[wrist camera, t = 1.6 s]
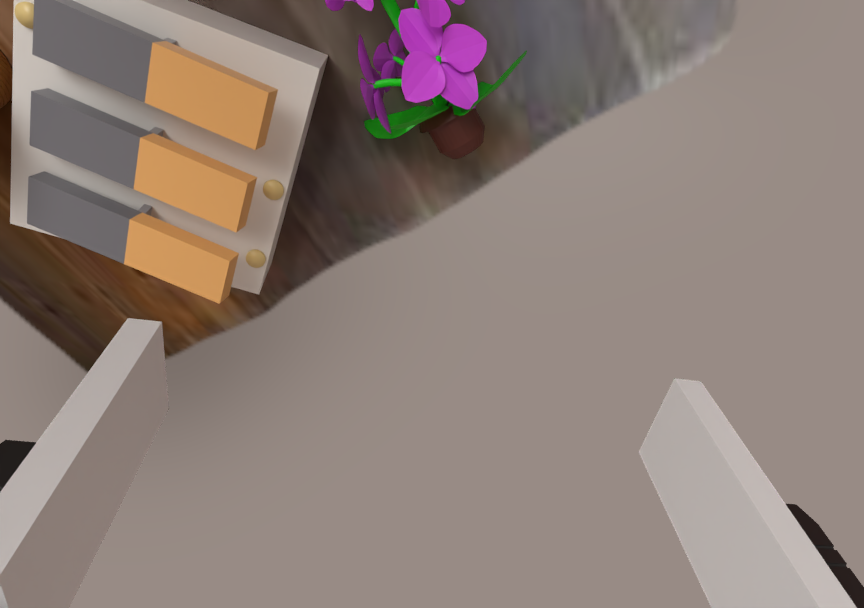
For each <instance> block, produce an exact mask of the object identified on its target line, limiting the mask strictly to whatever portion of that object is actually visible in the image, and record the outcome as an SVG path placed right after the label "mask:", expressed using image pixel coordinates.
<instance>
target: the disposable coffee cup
mask: <svg viewBox="0 0 864 608" xmlns="http://www.w3.org/2000/svg"><path fill="white" fill-rule="evenodd" d="M12 79H13V72H12V69H11V66H10V64H9V63H8V61H7V59H6V57H5V56H4V55H3V53H2V52H1V51H0V108H2V107H3V106H5V105H6V104H7V103H8V102H9V101H10V99H11V97H12Z"/></svg>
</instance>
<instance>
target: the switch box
mask: <svg viewBox="0 0 864 608" xmlns="http://www.w3.org/2000/svg"><path fill="white" fill-rule="evenodd" d="M73 1H75V2H78V3H80V4H82V5H84V6H87V7H89V8H91V9H94V10H96V11H98V12H101V13H103V14H105V15H108V16H110V17H112V18H114V19H117V20H119V21H121V22H124V23H126V24H128V25H131V26H133V27H135V28H138V29H140V30H142V31H144V32H147V33H149V34H151V35H154V36H156V37H158V38H161V39H163V40H165V41H167V42H170V43H172V44H174V45H177V46H179V47H181V48H184V49H186V50H188V51H191V52H193V53H195V54H197V55H200V56H202V57H204V58H207V59H209V60H211V61H214V62H216V63H218V64H220V65H223V66H225V67H227V68H230V69H232V70H234V71H237V72H239V73H241V74H244V75H246V76H248V77H250V78H253V79H255V80H257V81H260V82H262V83H264V84H267V85H269V86H271V87H274V88H276V89H278V92H277V97H276V101H275V105H274V109H273V113H272V118H271V122H270V126H269V130H268V134H267V139H266V143H265V145H264V146H262V147H260V148H259V149H257V150H254V149H251V148H249V147H247V146H244V145H242V144H240V143H237V142H235V141H233V140H230V139H228V138H226V137H223V136H221V135H219V134H216V133H214V132H212V131H209V130H207V129H205V128H202V127H200V126H198V125H195V124H193V123H191V122H188V121H186V120H184V119H181V118H179V117H177V116H174V115H172V114H170V113H167V112H165V111H163V110H160V109H158V108H156V107H153V106H151V105H149V104H146V103H144V102H142V101H139V100H137V99H135V98H132V97H130V96H128V95H125V94H123V93H121V92H118V91H116V90H114V89H111V88H109V87H107V86H104V85H102V84H100V83H97V82H95V81H93V80H90V79H88V78H86V77H83V76H81V75H79V74H76V73H74V72H72V71H69V70H67V69H65V68H63V67H60V66H58V65H56V64H53V63H51V62H49V61H46V60H44V59H42V58H39V57H37V56H35V55H32V48H33V17H34V0H14V18H13V79H12V140H11V201H10V223H11V224H14V225H18V226H21V227H25V228H28V229H32V230H35V231H39V232H42V233H46V234H49V235H53V234H51V233H49V232H46V231H44V230H41V229H39V228H37V227H34V226H32V225H29V224H27V204H28V177H29V176H32V175H35V174H37V173H40V172H43V171H45V172H47V173H50V174H52V175H55V176H57V177H59V178H62V179H64V180H66V181H69V182H71V183H74V184H76V185H78V186H81V187H83V188H85V189H88V190H90V191H93V192H95V193H97V194H100V195H102V196H104V197H107V198H109V199H112V200H114V201H116V202H119V203H121V204H123V205H126V206H128V207H131V208H133V209H135V210H138V211H140V212H142V213H145V214H147V215H150V216H152V217H154V218H157V219H159V220H161V221H164V222H166V223H169V224H171V225H173V226H176V227H178V228H180V229H183V230H185V231H188V232H190V233H192V234H195V235H197V236H199V237H202V238H204V239H207V240H209V241H211V242H214V243H216V244H218V245H221V246H223V247H226V248H228V249H230V250H233V251H235V252H237V253H239V256H238V260H237V264H236V268H235V273H234V277H233V281H232V285H231V287H234V288H238V289H241V290H245V291H248V292H252V293H255V294H259V293H260V291H261V288H262V286H263V283H264V281H265V278H266V276H267V273H268V271H269V268H270V266H271V263H272V260H273V256H274V253H275V249H276V245H277V242H278V238H279V234H280V231H281V227H282V223H283V220H284V216H285V212H286V209H287V205H288V201H289V198H290V194H291V190H292V187H293V183H294V179H295V176H296V172H297V168H298V165H299V161H300V157H301V154H302V150H303V146H304V143H305V139H306V135H307V132H308V128H309V124H310V121H311V117H312V113H313V110H314V106H315V102H316V99H317V95H318V91H319V88H320V84H321V80H322V77H323V73H324V69H325V66H326V62H327V58H328V55H327V54H324V53H322V52H319V51H316V50H314V49H311V48H309V47H306V46H304V45H301V44H299V43H296V42H293V41H291V40H288V39H286V38H283V37H281V36H278V35H275V34H273V33H270V32H268V31H265V30H263V29H260V28H258V27H255V26H252V25H250V24H247V23H245V22H242V21H240V20H237V19H234V18H232V17H229V16H227V15H224V14H222V13H219V12H216V11H214V10H211V9H209V8H206V7H204V6H201V5H199V4H196V3H193V2H191V1H188V0H73ZM46 88H49V89H51V90H54V91H56V92H58V93H61V94H63V95H65V96H68V97H70V98H72V99H75V100H77V101H80V102H82V103H84V104H87V105H89V106H91V107H94V108H96V109H98V110H101V111H103V112H105V113H108V114H110V115H112V116H115V117H117V118H119V119H122V120H124V121H126V122H129V123H131V124H133V125H136V126H138V127H140V128H143V129H145V130H147V131H150V132H152V133H154V134H157V135H159V136H161V137H164V138H166V139H168V140H171V141H173V142H176V143H178V144H180V145H183V146H185V147H187V148H190V149H192V150H194V151H197V152H199V153H201V154H204V155H206V156H208V157H211V158H213V159H215V160H218V161H220V162H222V163H225V164H227V165H229V166H232V167H234V168H236V169H239V170H241V171H243V172H246V173H248V174H250V175H253V176H255V177H257V180H256V185H255V189H254V193H253V197H252V201H251V206H250V210H249V214H248V218H247V222H246V226H244V227H243V228H242V229H240V230H239V231H238V232H234V231H231V230H229V229H227V228H224V227H222V226H219V225H217V224H215V223H212V222H210V221H208V220H205V219H203V218H200V217H198V216H196V215H193V214H191V213H189V212H186V211H184V210H182V209H179V208H177V207H174V206H172V205H170V204H167V203H165V202H163V201H160V200H158V199H156V198H153V197H151V196H148V195H146V194H144V193H141V192H139V191H137V190H134V189H132V188H129V187H127V186H125V185H122V184H120V183H118V182H115V181H113V180H111V179H108V178H106V177H103V176H101V175H99V174H96V173H94V172H92V171H89V170H87V169H85V168H82V167H80V166H77V165H75V164H73V163H70V162H68V161H66V160H63V159H61V158H59V157H56V156H54V155H51V154H49V153H47V152H44V151H42V150H40V149H37V148H35V147H32V146H30V145H29V142H30V111H31V91H34V90H40V89H46ZM53 236H56V235H53ZM56 237H58V236H56ZM60 238H61V237H60Z"/></svg>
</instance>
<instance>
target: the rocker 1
mask: <svg viewBox="0 0 864 608" xmlns="http://www.w3.org/2000/svg"><path fill="white" fill-rule="evenodd" d="M32 55H35V56H37V57H39V58H42V59H44V60H46V61H49V62H51V63H53V64H56V65H58V66H60V67H63V68H65V69H67V70H69V71H72V72H74V73H76V74H79V75H81V76H83V77H86V78H88V79H90V80H93V81H95V82H97V83H100V84H102V85H104V86H107V87H109V88H111V89H114V90H116V91H118V92H121V93H123V94H125V95H128V96H130V97H132V98H135V99H137V100H139V101H142V102H144V103H146V104H149V105H151V106H153V107H156V108H158V109H160V110H163V111H165V112H167V113H170V114H172V115H174V116H177V117H179V118H181V119H184V120H186V121H188V122H191V123H193V124H195V125H198V126H200V127H202V128H205V129H207V130H209V131H212V132H214V133H216V134H219V135H221V136H223V137H226V138H228V139H230V140H233V141H235V142H237V143H240V144H242V145H244V146H247V147H249V148H251V149H254V150H257V149H259V148H260V147H262V146H264V145H265V143H266V139H267V134H268V130H269V126H270V122H271V118H272V113H273V109H274V105H275V101H276V97H277V92H278V89H276V88H274V87H271V86H269V85H267V84H264V83H262V82H260V81H257V80H255V79H253V78H250V77H248V76H246V75H244V74H241V73H239V72H237V71H234V70H232V69H230V68H227V67H225V66H223V65H220V64H218V63H216V62H214V61H211V60H209V59H207V58H204V57H202V56H200V55H197V54H195V53H193V52H191V51H188V50H186V49H184V48H181V47H179V46H177V45H174V44H172V43H170V42H167V41H165V40H163V39H161V38H158V37H156V36H154V35H151V34H149V33H147V32H144V31H142V30H140V29H138V28H135V27H133V26H131V25H128V24H126V23H124V22H121V21H119V20H117V19H114V18H112V17H110V16H108V15H105V14H103V13H101V12H98V11H96V10H94V9H91V8H89V7H87V6H84V5H82V4H80V3H78V2H75V1H73V0H34V17H33V48H32Z"/></svg>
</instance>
